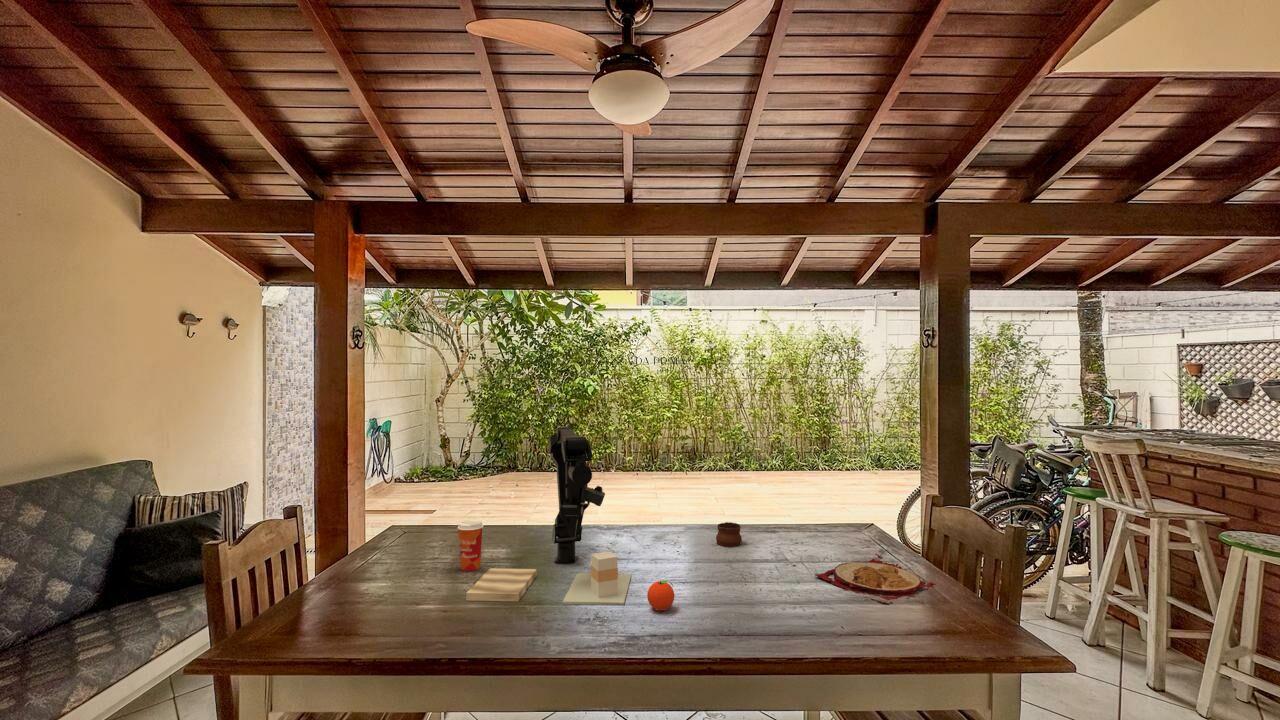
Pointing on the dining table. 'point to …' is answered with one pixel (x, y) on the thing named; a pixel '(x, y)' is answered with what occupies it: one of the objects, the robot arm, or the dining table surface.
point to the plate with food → (876, 579)
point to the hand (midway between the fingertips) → (575, 533)
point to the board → (502, 585)
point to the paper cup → (470, 544)
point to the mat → (584, 595)
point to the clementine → (660, 595)
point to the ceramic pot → (728, 535)
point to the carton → (604, 574)
